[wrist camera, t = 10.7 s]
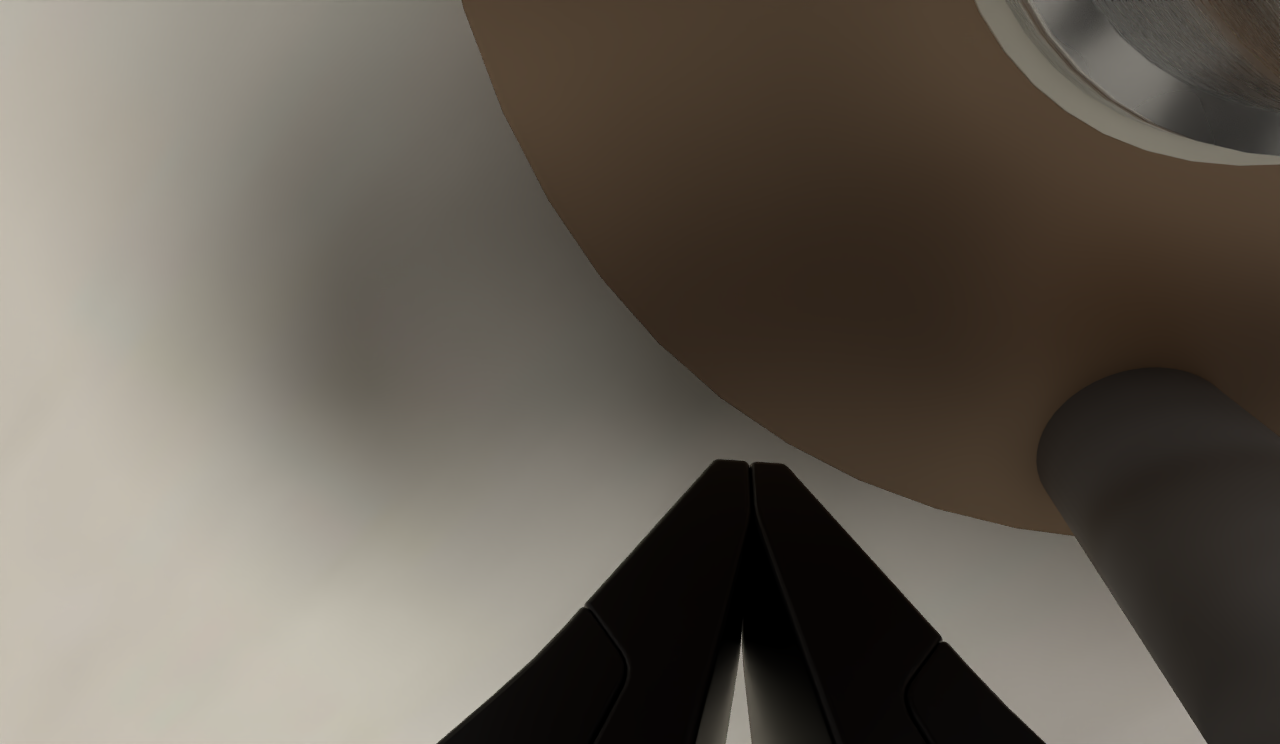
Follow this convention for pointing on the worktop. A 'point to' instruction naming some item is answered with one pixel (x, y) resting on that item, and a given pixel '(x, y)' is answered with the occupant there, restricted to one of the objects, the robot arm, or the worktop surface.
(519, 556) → the worktop surface
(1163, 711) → the worktop surface
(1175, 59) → the cap
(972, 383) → the turntable
